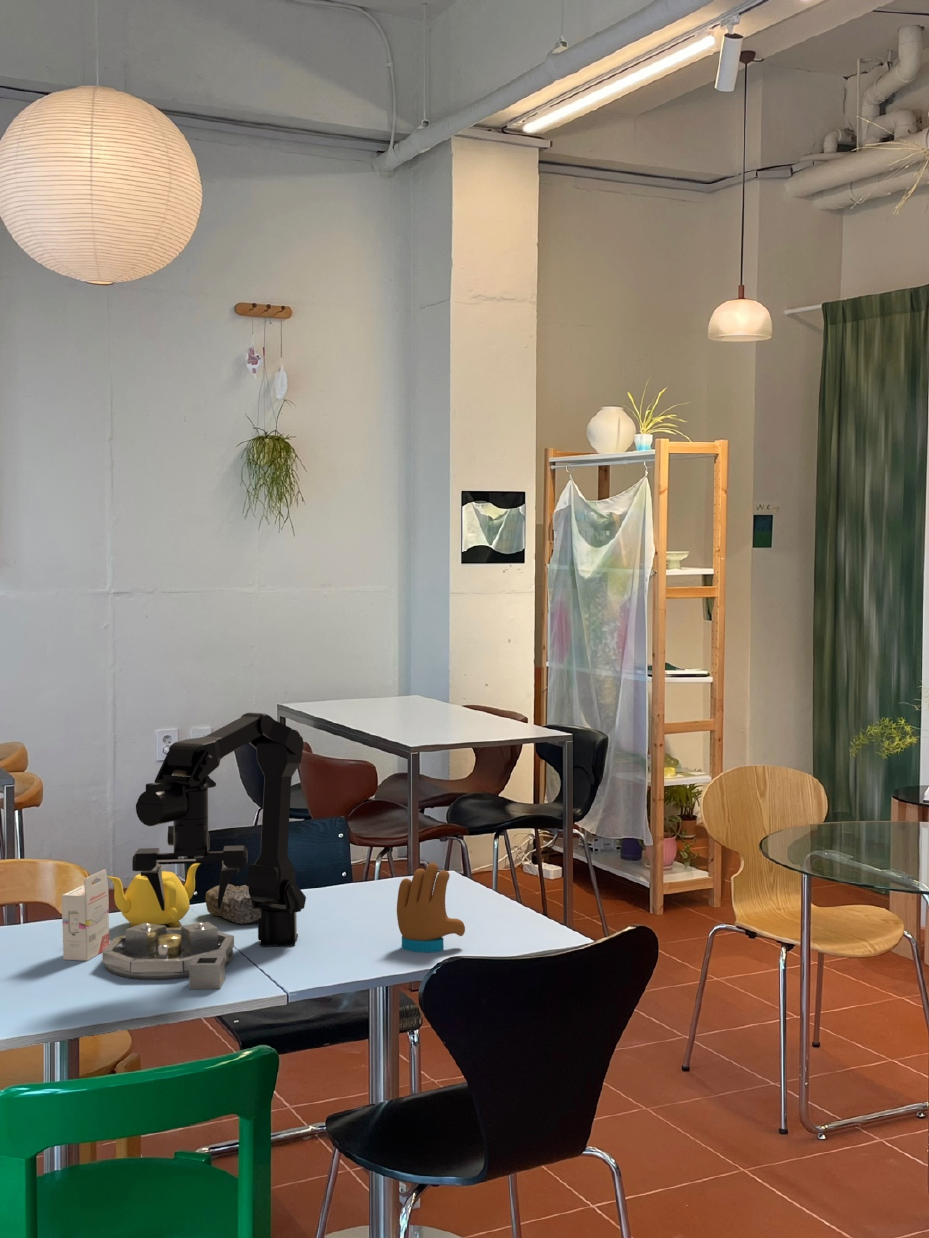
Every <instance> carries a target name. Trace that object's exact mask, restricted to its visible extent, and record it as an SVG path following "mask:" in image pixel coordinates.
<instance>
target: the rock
mask: <svg viewBox="0 0 929 1238" xmlns="http://www.w3.org/2000/svg"><path fill="white" fill-rule="evenodd" d="M246 885H247V884H244V885H240V886H239V885H237V886H235V885H233V884H229V883H228V885H227V888H226V891H225V894H224V897H223V900H222V904H221V907H220V909H218V893H219V885H216V886H214V887H212V888H210V889H208V891H206V893H205V905H206V910H207V912H208V913H209V914H210V915H211V916H215V917H222V918H223V919H225V920H228V921H232V923H236V924H237V923H239V924H241V925H248V924H251V923H254V922H256V923H258V918H259V916H260V915H261V910H262V909H254V908H253V905H252V902H251V898H250V895H249V892H248V886H246Z"/></svg>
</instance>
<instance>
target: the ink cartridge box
mask: <svg viewBox="0 0 929 1238" xmlns="http://www.w3.org/2000/svg"><path fill="white" fill-rule="evenodd" d="M107 873H108V872H107V869H106V868H105V869H102V870H100V871H97V872H95V873H93V874H91V875H90V876H87V877H85V878H83V884H82V885H80V886H78V887H77V888H73V889H72V890H70V891H68V892H66V893H64V894H61V915H62V916H61V918H62V952H63V953H62V954H63V955H62V959H63V960H64V961H65V960H66V961H67V960H68V961H81V962H83V961H84V962H85V961H86V962H87V961H90V960H91V959H93V958H94V957H96V956H97V955H99V954H101V953H102V952H103V950H104V949H105V948H106V947H107V946H108V945H109V944H110V915H109V914H110V913H109V912H110V911H109V910H110V909H109V906H110V905H109V884H108V877H107V876H108V874H107ZM98 879H99V881H98V882H96V883H94V884H93V882H95V880H98Z"/></svg>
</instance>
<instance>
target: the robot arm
mask: <svg viewBox="0 0 929 1238" xmlns="http://www.w3.org/2000/svg"><path fill="white" fill-rule="evenodd" d="M247 744H249V745H250V746H252V747H253V748H254V749H255V750H256V761H257V764H258V766H259V768H260V770H261V771H262V772H261V773H262V774H263V776H264V778H263V779H264V784H263V799H262V800H263V801H262V803H263V804H262V814H261V815H262V817H261V818H262V819H261V820H262V821H261V837H260V853H259V855H258V858H257V859H255V860H256V861H255V862H254V864H253V863H251V864H250V863H249V866H248V853H249V852H248V851H249V850H248V848H247V847H246V846H245V845H242V844H241V845H224V846H223V850H219V851H210V848H211V847H210V846H211V845H210V844H211V843H210V833H209V789H210V788H211V789H212V788H215V787H216V786H217V783H216V781H214V780H213V779H212V778H210V775H211V774H212V773H213V772H214V771H215V770H216V769H218V768H219V766H220V764H221V760H222V759H223V758H225V757H226V756H228V755H230V754H231V753H233V752H235V751H237V750H239V749H240V748H242V747H243V746H245V745H247ZM304 745H305V743H304V739H303V736H301V734H300V733H299V731H298V730H297V729H293V728H292V727H290V726H289V725H285V724H284V723H282V722H280V721H277V720H276V719H274V718H273V717H272V716H270V715H268V714H267V713H264V712H262V713H261V712H246V713H244V714H242V715H240V717H239V718H237V719H236V720H234V721H231V722H230V723H228V724H226V725H223V726H222V727H220V728H218V729H216V730H215V731H213V732H211V733H209V734H206V735H205V736H202V737H194V738H193V737H192V738H187V739H183V740H178V741H176V742H173V743H172V744H171V745H170V746H169V748H168V751H167V754H166V755H165V757H164V760H163V762H162V764H161V766H160V768H159V770H158V773H157V775H156V777H155V778H154V782H150V783H149V782H148V783H146V784H145V791H144V792H142V793H141V794H140V795H139V797H138V799H137V802H136V803H135V813H136V816H137V817H138V820H139V821H140V822H141V823H142V824H143V825H144V826H147V827H154V826H158V825H162V824H167V823H171V822H173V825H168V826H167V841H166V842H167V845H168V846H170V847H171V846H173V852H168V853H167V852H162V853H161V852H160V847H153V848H151V847H150V848H149V847H148V848H147V847H146V848H143V847H142V848H138V849H137V850H136V851H135V852H134V854H133V856H132V861H131V862H132V863H131V864H132V868H131V869H132V872H140V874H141V876H146V877H147V878H148V880H149V882H150V884H151V885H152V887H153V889H154V891H155V894H156V896H157V899H158V902H159V904H160V907H161V909H162V911H164V910H165V897H164V889H163V881H162V871H163V870H162V869H163V867H162V865H185V864H187V865H188V864H189V865H193V864H195V863H201V864H215V863H216V864H217V863H218V864H219V863H221V864H222V866H221V870H220V878H219V885H218V886H219V893H218V909H220V907H221V904H222V900H223V897H224V894H225V891H226V888H227V885H228V884H229V882H230V880H231V879H232V876H233V874H238V873H239V872H240V869H244V868H247V867H248V868H247V876H248V878H247V883H246V884H245V885H246V886H248V892H249V895H250V898H251V902H252V905H253V908H254V909H262V910H261V915H260V916H259V918H258V922H257V939H258V941H259V946H260V947H265V946H266V947H270V946H272V947H273V946H274V947H276V946H279V947H281V946H282V947H283V946H295V945H296V943H297V940H298V937H299V933H297V931H298V930H297V927H298V926H297V923H298V922H297V913H300V912H302V910H304V909H305V905H306V901H307V897H306V895H305V894H304V892H303V891H302V890H301V888H300V887H299V886H298V885H297V884H296V869H295V868H294V865H293V864H292V860H291V859H290V857H289V854H288V851H289V850H288V849H289V848H288V847H289V833H290V816H291V815H290V814H291V811H290V810H291V797H292V796H291V793H292V779H293V778H292V777H293V776H294V774H295V773H296V771H297V769H298V768H299V766H300V765H301V763H302V755H303V750H304ZM182 857H184V858H182Z"/></svg>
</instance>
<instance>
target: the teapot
mask: <svg viewBox="0 0 929 1238" xmlns="http://www.w3.org/2000/svg"><path fill="white" fill-rule="evenodd" d="M200 865H202V863H192V864H191V865H190V866H189V868H188V869H187V873H186V874H187V875H186V880H185V882H184V883H185V884H184V885H183V882H181V880H180V878H179V877H178V876H177V875H176V874H175V872H172V871H165V870H162V881H163V889H164V897H165V910H164V911H162V909H161V907H160V904H159V902H158V899H157V896H156V894H155V891H154V889H153V887H152V885H151V884H150V882H149V880H148V878H147V877H146V876H141V873H139V874H137V875H135V876H134V877H133V879H132V880H131V882H130V883H129V885H128V887H127V888H126V890H125V891H124V888H123V887H124V885H123V883H122V880H121V878H120V877H115V876H109V875H107V879H110V880H111V882H112V883H113V887H114V896H113V897H114V904H115V906H116V907H117V909H118V910H119V911H120V912H121V915H122V916H123V917H124V918H125V920H127V922H129V923H130V925H129V926H130V927H134V926H137V925H140V924H142V923H150V924H157V925H166V924H167V925H168V926H169V928H180V927H181V926H182V924H181V922H180V921H181V920H182V919H184V917H185V916H186V915H187V913H188V912H189V910H190V900H191V899H192V897H193V895H194V893H195V892H196V891H195V889H196V878H195V877H196V871H197V869H198V867H199V866H200Z"/></svg>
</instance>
